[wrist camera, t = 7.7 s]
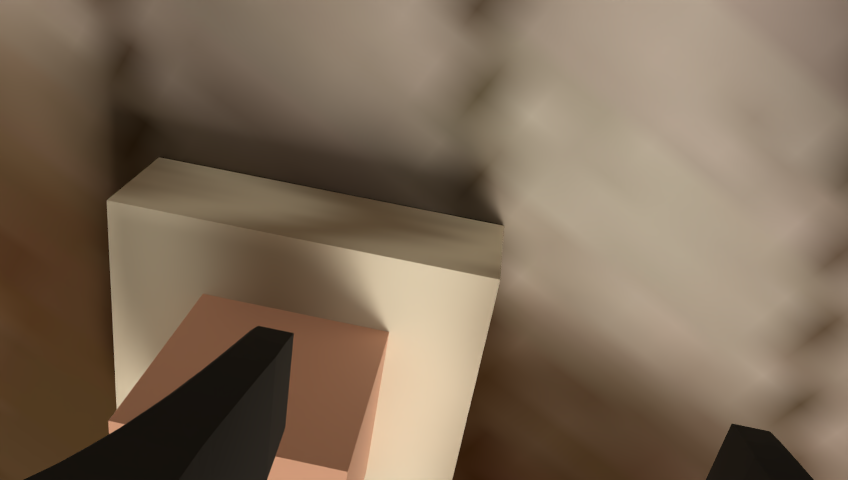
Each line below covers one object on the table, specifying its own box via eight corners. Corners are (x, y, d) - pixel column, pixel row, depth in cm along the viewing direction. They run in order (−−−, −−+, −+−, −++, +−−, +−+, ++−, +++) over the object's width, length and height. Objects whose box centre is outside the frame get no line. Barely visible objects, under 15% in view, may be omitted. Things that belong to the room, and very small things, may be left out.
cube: (389, 332, 20) (348, 471, 15) (366, 471, 22) (324, 627, 18) (202, 293, 20) (108, 420, 15) (200, 435, 22) (117, 581, 18)
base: (504, 225, 21) (500, 280, 18) (444, 482, 26) (434, 554, 23) (159, 157, 22) (106, 200, 19) (161, 421, 26) (120, 486, 24)
